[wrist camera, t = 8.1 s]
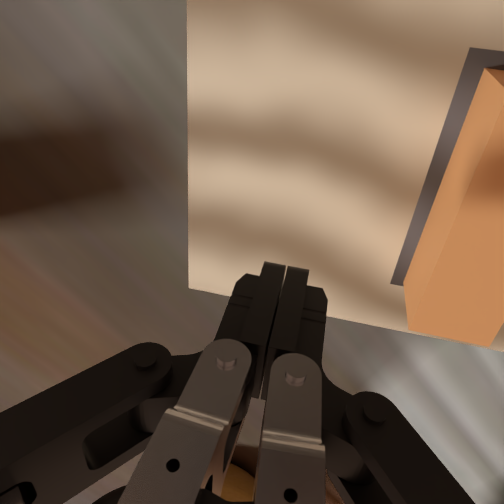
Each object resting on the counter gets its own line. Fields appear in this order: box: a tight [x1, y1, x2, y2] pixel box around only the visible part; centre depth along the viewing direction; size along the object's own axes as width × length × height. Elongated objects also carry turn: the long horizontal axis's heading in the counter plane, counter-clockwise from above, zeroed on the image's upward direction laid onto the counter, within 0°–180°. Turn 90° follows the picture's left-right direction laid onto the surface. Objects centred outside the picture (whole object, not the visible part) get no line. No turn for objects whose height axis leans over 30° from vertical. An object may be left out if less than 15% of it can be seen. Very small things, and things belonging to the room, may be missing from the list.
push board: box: [187, 0, 504, 352], centre depth 23 cm, size 20×26×1 cm
